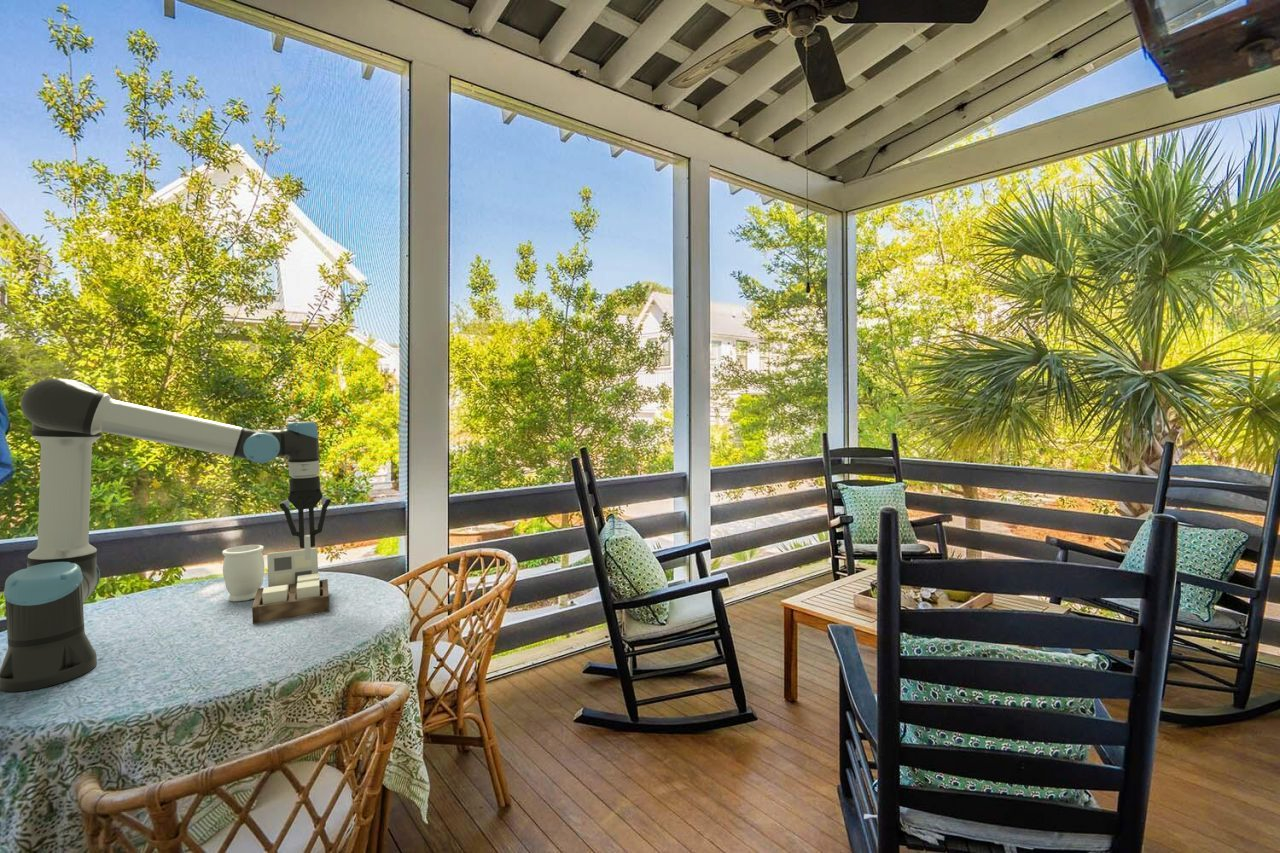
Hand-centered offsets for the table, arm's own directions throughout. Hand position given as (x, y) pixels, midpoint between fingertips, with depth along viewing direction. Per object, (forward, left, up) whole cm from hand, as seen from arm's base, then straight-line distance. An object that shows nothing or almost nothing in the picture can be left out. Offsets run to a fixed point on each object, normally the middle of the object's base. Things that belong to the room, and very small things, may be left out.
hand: (308, 558), depth 165 cm
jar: (-17, +21, -15) cm, 31 cm away
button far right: (0, +8, -11) cm, 14 cm away
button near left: (-8, 0, -11) cm, 14 cm away
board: (-4, +4, -15) cm, 16 cm away
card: (-4, +15, -15) cm, 21 cm away
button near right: (0, 0, -11) cm, 11 cm away
